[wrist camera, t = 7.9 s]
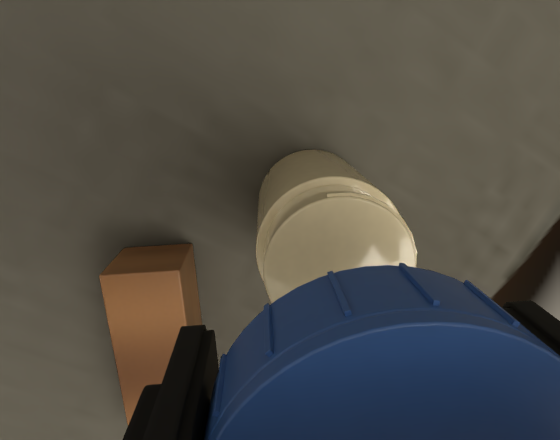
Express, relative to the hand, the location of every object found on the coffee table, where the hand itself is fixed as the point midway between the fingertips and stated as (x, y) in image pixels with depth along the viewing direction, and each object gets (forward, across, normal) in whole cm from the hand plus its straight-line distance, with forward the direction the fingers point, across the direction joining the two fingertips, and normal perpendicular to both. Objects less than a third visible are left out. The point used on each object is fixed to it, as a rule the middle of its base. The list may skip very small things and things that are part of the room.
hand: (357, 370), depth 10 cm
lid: (-3, 0, 0) cm, 3 cm away
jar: (+15, -1, 0) cm, 15 cm away
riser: (+15, +8, +8) cm, 19 cm away
